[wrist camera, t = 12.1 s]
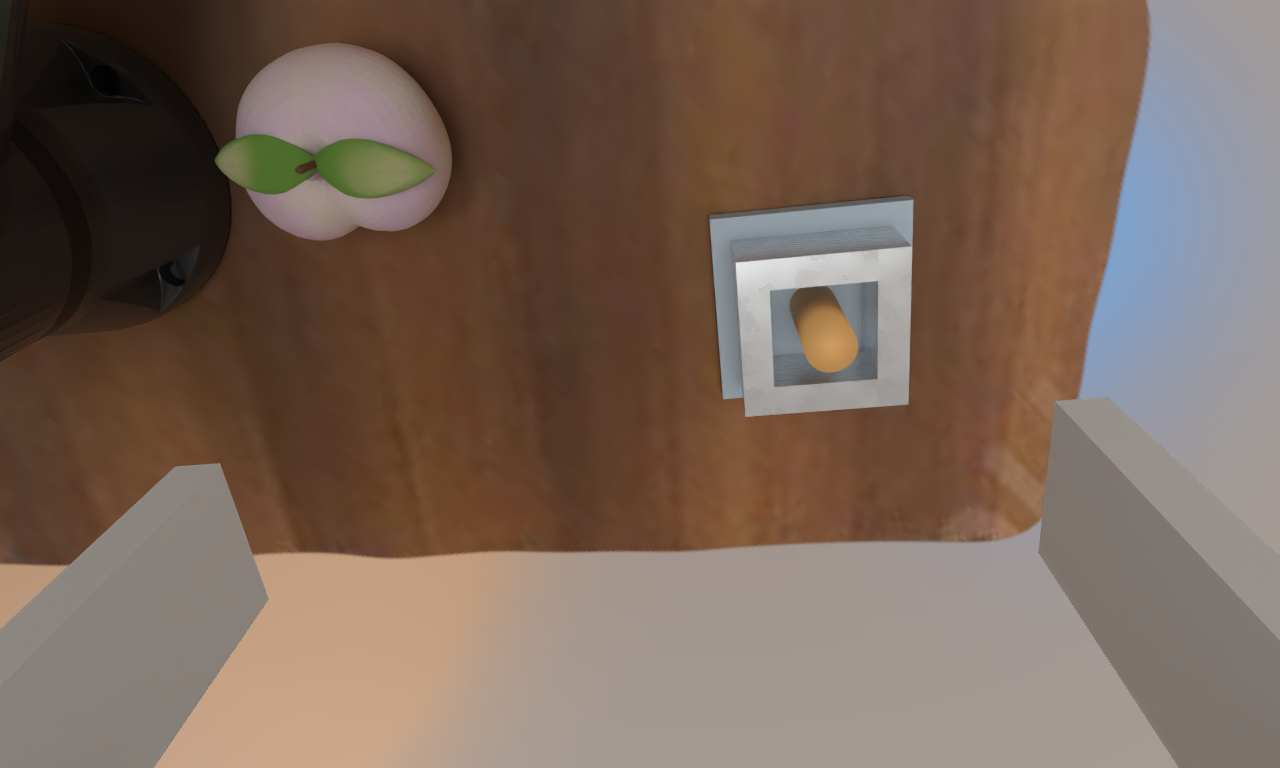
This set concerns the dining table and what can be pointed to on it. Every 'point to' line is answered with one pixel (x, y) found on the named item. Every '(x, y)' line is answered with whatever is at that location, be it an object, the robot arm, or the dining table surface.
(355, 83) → the decorative fruit
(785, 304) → the keeper
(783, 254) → the gray square frame
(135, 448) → the dining table surface
